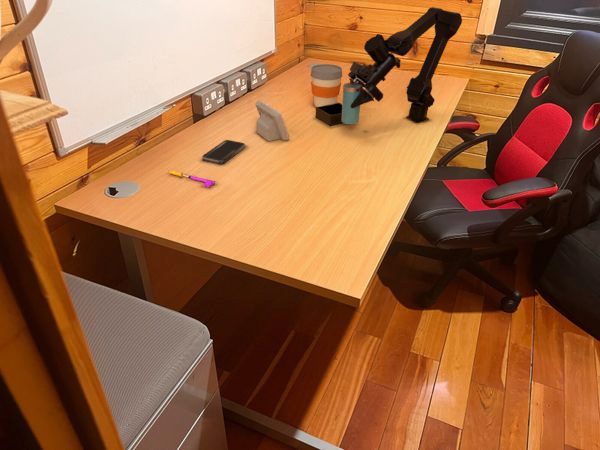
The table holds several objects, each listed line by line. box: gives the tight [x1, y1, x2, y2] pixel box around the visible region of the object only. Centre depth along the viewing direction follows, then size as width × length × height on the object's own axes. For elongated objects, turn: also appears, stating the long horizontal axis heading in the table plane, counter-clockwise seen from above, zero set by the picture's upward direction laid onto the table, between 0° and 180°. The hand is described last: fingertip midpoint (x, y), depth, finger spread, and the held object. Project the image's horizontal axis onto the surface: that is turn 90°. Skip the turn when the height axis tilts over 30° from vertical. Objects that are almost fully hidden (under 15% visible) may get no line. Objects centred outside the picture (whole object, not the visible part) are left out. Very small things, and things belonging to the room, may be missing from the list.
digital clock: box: [255, 100, 290, 142], centre depth 163 cm, size 16×9×11 cm, turn 20°
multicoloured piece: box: [169, 170, 216, 189], centre depth 137 cm, size 3×1×16 cm
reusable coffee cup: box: [310, 63, 343, 108], centre depth 188 cm, size 13×13×15 cm
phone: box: [202, 139, 246, 165], centre depth 152 cm, size 8×1×15 cm
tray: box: [315, 102, 345, 127], centre depth 177 cm, size 11×10×4 cm
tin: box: [341, 82, 363, 125], centre depth 161 cm, size 6×6×12 cm
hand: (347, 104), depth 161 cm, fingers closed on tin, 6 cm apart
